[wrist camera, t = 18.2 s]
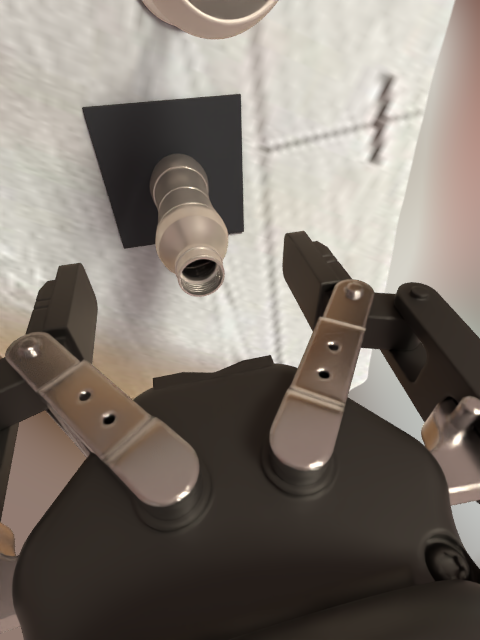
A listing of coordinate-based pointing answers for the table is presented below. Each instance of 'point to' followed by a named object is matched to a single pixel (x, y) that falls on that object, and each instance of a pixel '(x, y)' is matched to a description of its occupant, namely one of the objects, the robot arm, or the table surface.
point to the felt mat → (160, 141)
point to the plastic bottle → (188, 225)
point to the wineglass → (211, 15)
